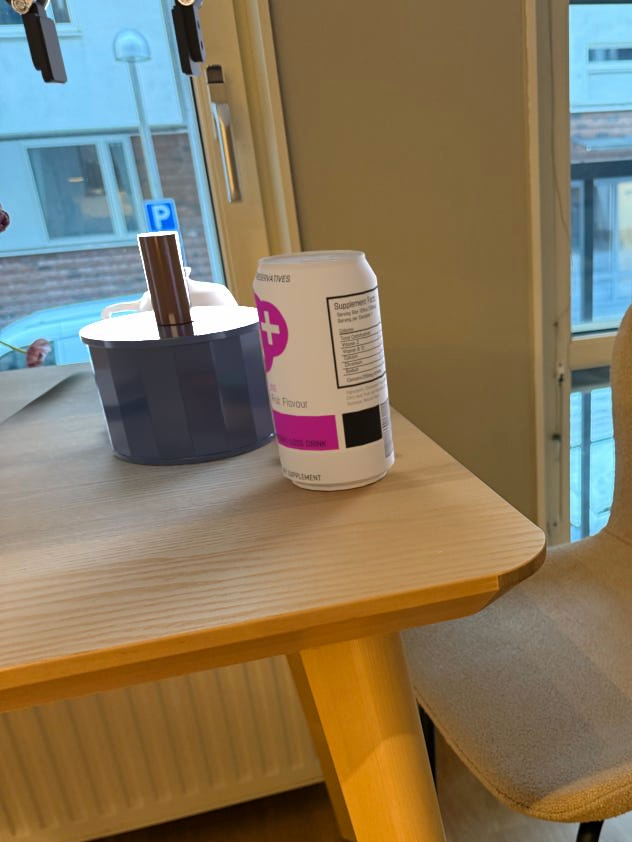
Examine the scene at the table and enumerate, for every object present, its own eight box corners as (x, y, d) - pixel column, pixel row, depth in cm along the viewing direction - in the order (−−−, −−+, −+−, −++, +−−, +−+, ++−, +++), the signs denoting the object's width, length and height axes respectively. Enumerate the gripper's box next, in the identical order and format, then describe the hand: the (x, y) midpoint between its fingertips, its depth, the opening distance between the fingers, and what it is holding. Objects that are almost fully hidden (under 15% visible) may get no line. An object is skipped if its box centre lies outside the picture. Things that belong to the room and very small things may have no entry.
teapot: (288, 342, 115) (275, 255, 110) (290, 363, 104) (276, 266, 99) (120, 358, 112) (100, 268, 107) (106, 380, 101) (82, 281, 96)
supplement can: (289, 500, 64) (252, 268, 57) (279, 465, 71) (246, 255, 64) (404, 484, 66) (383, 257, 59) (383, 452, 73) (362, 246, 66)
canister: (91, 470, 72) (60, 352, 68) (138, 423, 84) (114, 320, 80) (265, 459, 73) (246, 341, 68) (287, 413, 85) (272, 310, 80)
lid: (55, 362, 68) (25, 249, 64) (113, 326, 81) (91, 231, 77) (254, 349, 68) (236, 237, 65) (280, 316, 81) (266, 220, 78)
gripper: (211, -226, 61) (254, 76, 70) (-53, -214, 61) (21, 88, 69) (185, -270, 55) (236, 69, 63) (-111, -256, 54) (-21, 83, 62)
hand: (124, 79), depth 66 cm, fingers open, 9 cm apart
